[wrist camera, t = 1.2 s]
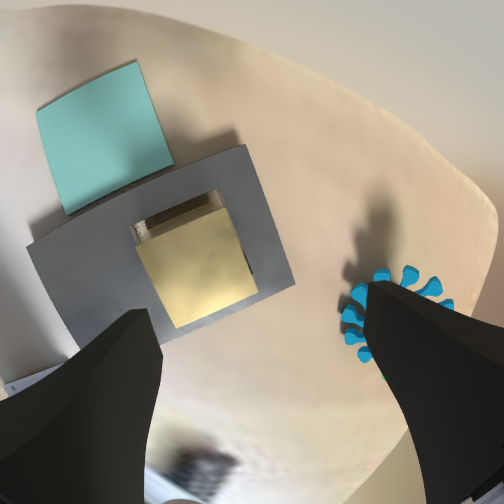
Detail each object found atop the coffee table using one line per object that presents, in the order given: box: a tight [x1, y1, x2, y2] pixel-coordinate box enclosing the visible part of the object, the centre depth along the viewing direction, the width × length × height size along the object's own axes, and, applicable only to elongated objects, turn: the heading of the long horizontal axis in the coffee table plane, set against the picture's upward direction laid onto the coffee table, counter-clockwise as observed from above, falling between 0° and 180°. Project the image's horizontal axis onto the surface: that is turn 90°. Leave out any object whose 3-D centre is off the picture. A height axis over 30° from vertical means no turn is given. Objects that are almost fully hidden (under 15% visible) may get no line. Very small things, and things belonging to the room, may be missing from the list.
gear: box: [341, 265, 454, 380], centre depth 22 cm, size 11×6×10 cm
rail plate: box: [26, 144, 295, 349], centre depth 18 cm, size 16×10×1 cm, turn 111°
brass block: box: [135, 203, 258, 329], centre depth 16 cm, size 4×4×6 cm
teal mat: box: [36, 62, 174, 216], centre depth 15 cm, size 8×8×1 cm
